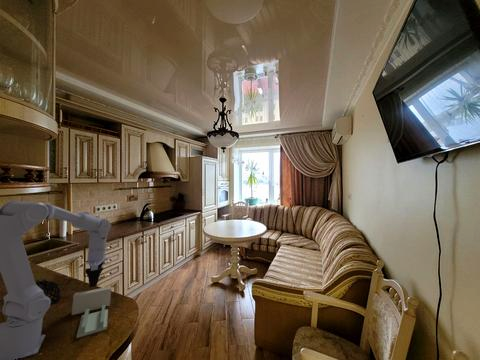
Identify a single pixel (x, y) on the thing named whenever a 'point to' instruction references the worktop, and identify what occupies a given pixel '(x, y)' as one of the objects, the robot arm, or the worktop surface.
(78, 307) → the beige rectangular block
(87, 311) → the rack
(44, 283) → the decorative element
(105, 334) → the worktop surface
